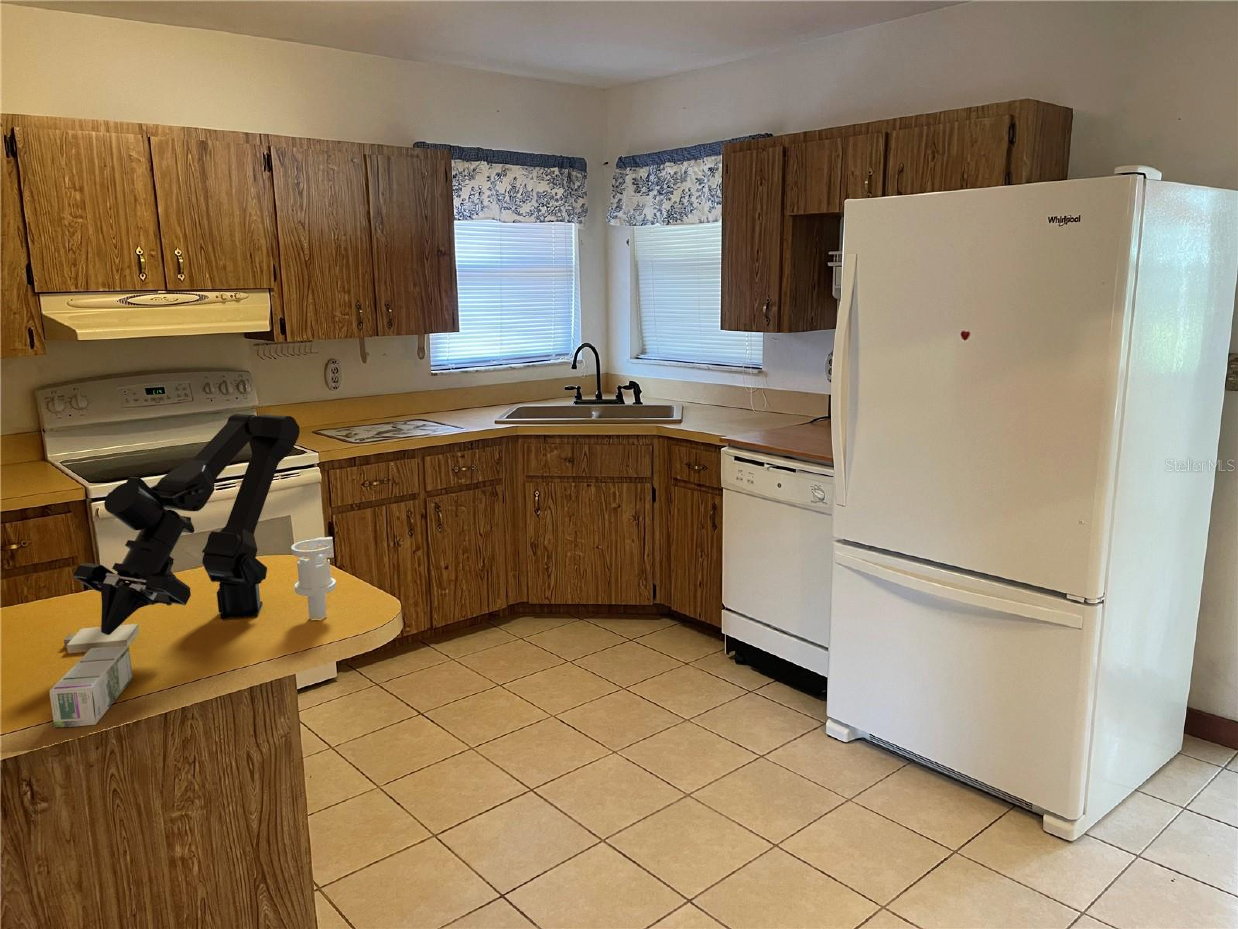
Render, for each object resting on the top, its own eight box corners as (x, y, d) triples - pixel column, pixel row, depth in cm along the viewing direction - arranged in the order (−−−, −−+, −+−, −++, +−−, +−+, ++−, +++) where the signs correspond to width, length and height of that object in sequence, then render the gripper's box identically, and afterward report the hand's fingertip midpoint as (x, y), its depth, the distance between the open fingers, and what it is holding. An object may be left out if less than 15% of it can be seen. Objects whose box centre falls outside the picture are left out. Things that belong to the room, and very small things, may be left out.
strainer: (338, 622, 161) (332, 543, 157) (296, 627, 159) (289, 546, 155) (338, 608, 167) (332, 531, 164) (298, 612, 165) (291, 535, 162)
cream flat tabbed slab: (139, 631, 157) (138, 623, 156) (127, 648, 150) (126, 639, 150) (74, 637, 154) (73, 629, 154) (59, 654, 148) (58, 645, 147)
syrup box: (89, 647, 137) (45, 691, 123) (130, 644, 138) (91, 688, 124) (94, 681, 138) (50, 729, 124) (135, 678, 139) (96, 726, 125)
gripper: (229, 572, 149) (185, 661, 141) (141, 560, 154) (94, 645, 147) (188, 541, 140) (139, 634, 132) (97, 529, 145) (44, 618, 137)
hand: (105, 633), depth 137 cm, fingers closed
